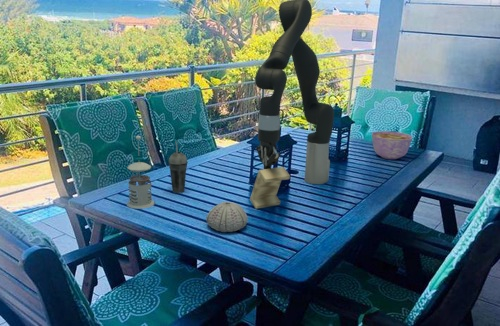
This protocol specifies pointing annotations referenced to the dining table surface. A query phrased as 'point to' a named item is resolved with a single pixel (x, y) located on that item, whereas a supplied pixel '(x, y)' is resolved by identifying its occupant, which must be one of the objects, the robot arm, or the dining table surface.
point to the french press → (139, 186)
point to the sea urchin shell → (227, 217)
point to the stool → (268, 187)
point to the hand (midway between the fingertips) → (267, 175)
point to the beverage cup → (178, 171)
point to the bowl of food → (391, 144)
